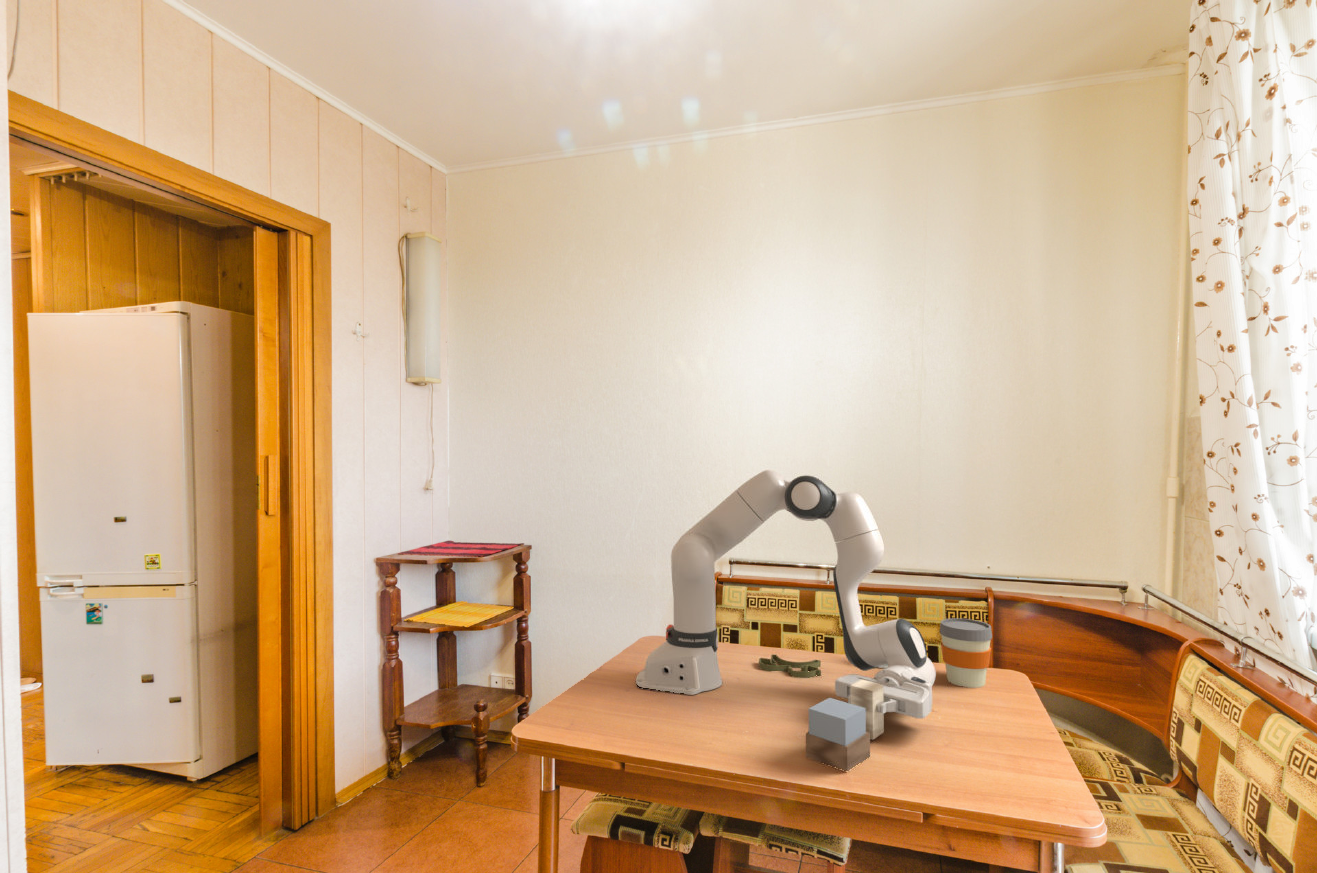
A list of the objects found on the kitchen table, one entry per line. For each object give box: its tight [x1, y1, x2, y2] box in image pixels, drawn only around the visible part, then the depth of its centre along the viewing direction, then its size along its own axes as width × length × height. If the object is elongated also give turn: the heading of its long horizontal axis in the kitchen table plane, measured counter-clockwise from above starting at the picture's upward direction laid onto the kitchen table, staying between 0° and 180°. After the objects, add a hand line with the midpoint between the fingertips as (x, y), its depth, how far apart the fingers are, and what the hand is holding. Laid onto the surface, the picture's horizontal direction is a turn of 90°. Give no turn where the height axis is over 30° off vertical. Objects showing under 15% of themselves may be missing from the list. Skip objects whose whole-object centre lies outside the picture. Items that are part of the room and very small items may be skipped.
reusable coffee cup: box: [939, 617, 993, 689], centre depth 176 cm, size 13×12×15 cm
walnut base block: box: [805, 731, 871, 772], centre depth 133 cm, size 9×9×5 cm
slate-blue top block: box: [808, 697, 866, 746], centre depth 133 cm, size 8×8×5 cm
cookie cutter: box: [758, 653, 822, 679], centre depth 187 cm, size 18×12×2 cm, turn 65°
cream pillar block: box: [850, 679, 885, 740], centre depth 143 cm, size 5×5×10 cm
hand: (865, 705), depth 142 cm, fingers closed on cream pillar block, 5 cm apart
